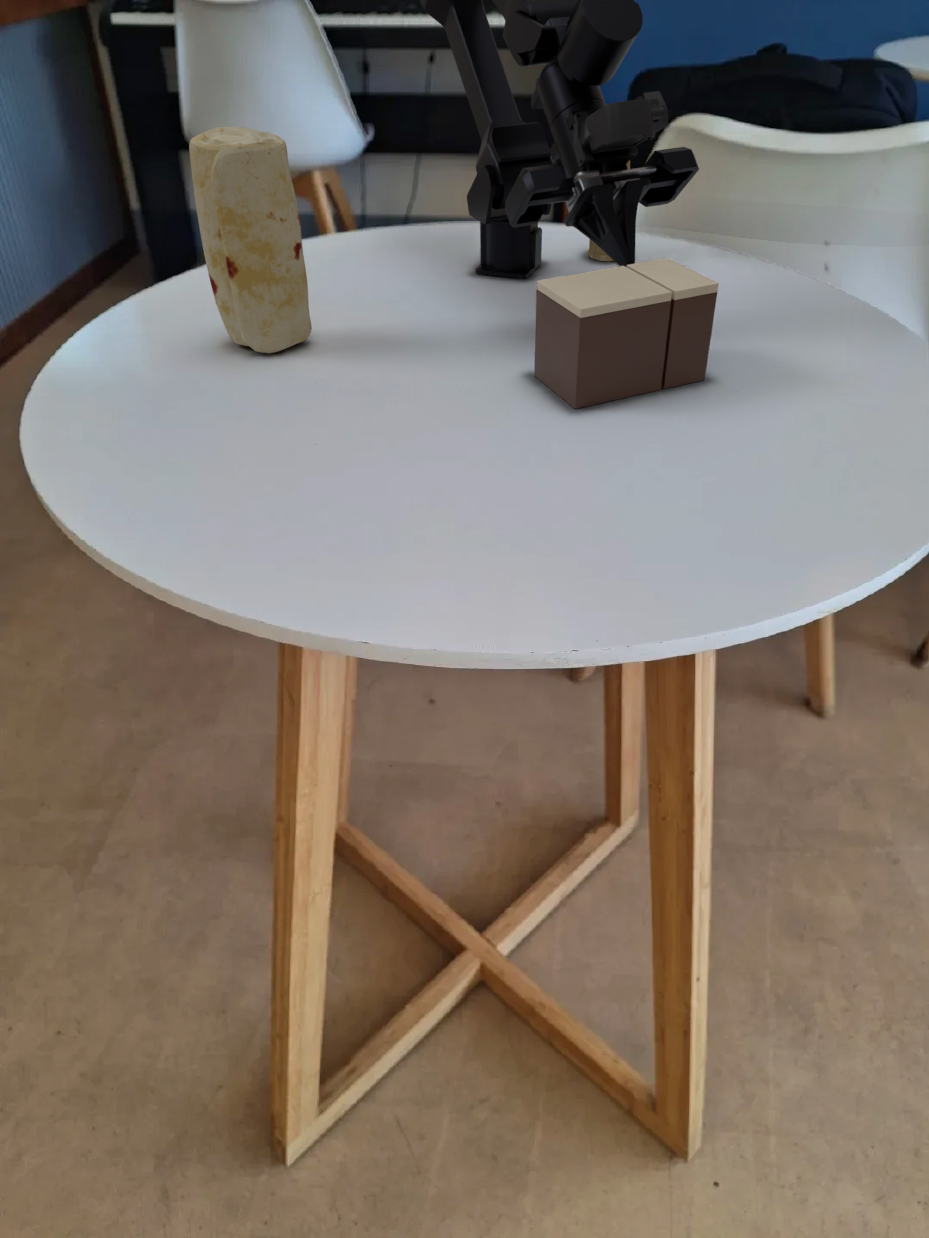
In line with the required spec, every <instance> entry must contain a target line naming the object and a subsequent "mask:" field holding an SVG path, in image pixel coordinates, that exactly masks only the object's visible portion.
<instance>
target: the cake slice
mask: <svg viewBox="0 0 929 1238" xmlns="http://www.w3.org/2000/svg"><path fill="white" fill-rule="evenodd" d="M626 267H627V268H629V269H630V270H632V271H634V272H636V273H638V274H640V275H642V276H643V277H645V278H647V279H649V280H651V281H653V282H654V283H656V284H658V285H660V286H662V287H664V288H666V289H667V290H669V291H671V292H672V297H671V307H670V316H669V324H668V333H667V342H666V350H665V359H664V368H663V376H662V385H661V389H663V390H667V389H670V388H675V387H679V386H683V385H687V384H693V383H696V382H702V381H705V380H706V373H707V367H708V359H709V352H710V345H711V338H712V333H713V332H712V331H713V327H714V326H713V325H714V318H715V311H716V305H717V297H718V291H719V282H717V281H716V280H713V279H711V278H709V277H707V276H705V275H703V274H702V273H699V272H698V271H695V270H693V269H691V268H689V267H687V266H685V265H683V264H681V263H679V262H678V261H676V260H673V259H671V258H669V257H664V258H658V259H653V260H646V261H642V262H635V264H629V265H627V266H626Z"/></svg>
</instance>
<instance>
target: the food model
mask: <svg viewBox="0 0 929 1238" xmlns="http://www.w3.org/2000/svg"><path fill="white" fill-rule="evenodd" d="M188 144H189V145H188V149H189V160H190V170H191V179H192V186H193V193H194V202H195V209H196V214H197V215H196V216H197V219H198V220H197V222H198V227H199V233H200V238H201V244H202V249H203V253H204V260H205V264H206V270H207V275H208V277H209V282H210V286H211V289H212V293H213V298H214V301H215V302H214V303H215V305H216V308H217V310H218V313H219V317H220V318H221V321H222V323H223V325H224V328H225V330H226V332H227V334H228V336H229V338H230V340H231V341H232V342H233V343H234V344H236V345H241V346H245V347H250V348H251V349H252V350H253V351H254V352H258V353H263V354H269V355H271V354H273V353H274V354H275V353H277V352H281V351H283V350H285V349H288V348H290V347H292V346H295V345H298V344H301V343H303V342H305V341H307V340H308V338H309V337H310V335H311V333H312V330H313V326H312V320H311V315H310V314H311V313H310V305H309V304H310V303H309V285H308V275H307V269H306V262H305V255H304V246H303V237H302V228H301V227H302V226H301V220H300V213H299V208H298V207H299V206H298V202H297V197H296V192H295V188H294V184H293V180H292V174H291V170H290V164H289V156H288V148H287V142H286V141H285V140H284V138H282V137H281V136H279V135H277V134H274V133H272V132H269V131H262V130H256V129H253V128H250V127H246V126H218V127H214V128H212V129H209V130H205V131H204V132H202V133H199V134H198V135H195V136H194V137H192V138H191V139H190V141H189V143H188Z"/></svg>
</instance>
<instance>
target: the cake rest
mask: <svg viewBox="0 0 929 1238" xmlns="http://www.w3.org/2000/svg"><path fill="white" fill-rule="evenodd" d="M535 293H536V295H535V296H536V297H535V301H536V302H535V331H534V332H535V333H534V334H535V335H534V336H535V337H534V338H535V339H534V371H533V372H534V373H533V374H534V377H535V378H536V379H538V380H539V381H540V382H541V383H542V384H544V385H545V386H546V387H547V388H549V389H550V390H551V391H553V392H554V393H555V394H556V395H558V396H559V398H561V399H562V400H564V401H565V402H566V403H567V404H569V405H570V406H571V407H572V408H573V409H575V410H577V409H581V408H585V407H590V406H596V405H599V404H604V403H608V402H613V401H618V400H621V399H626V398H629V397H634V396H639V395H644V394H647V393H651V392H656V391H657V392H658V391H661V390H662V387H661V385H662V376H663V368H664V359H665V350H666V342H667V333H668V324H669V316H670V307H671V297H672V292H671V291H669V290H667V289H666V288H664V287H662V286H660V285H658V284H656V283H654V282H653V281H651V280H649V279H647V278H645V277H643V276H642V275H640V274H638V273H636V272H634V271H632V270H630V269H629V268H627V267H625V266H619V265H618V266H612V267H607V268H601V269H596V270H590V271H585V272H579V273H573V274H567V275H561V276H556V277H550V278H545V279H539V280H536V291H535Z"/></svg>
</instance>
